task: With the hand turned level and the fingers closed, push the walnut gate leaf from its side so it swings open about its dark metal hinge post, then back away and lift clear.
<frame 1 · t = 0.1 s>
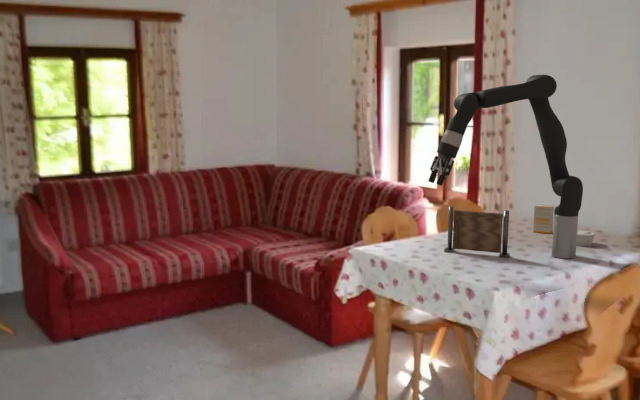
hand: (434, 183, 256), 31 cm above the table, tool tilted 20°, fingers open, 8 cm apart
supplement box: (542, 232, 319), on the table
gate: (477, 231, 274), point 9 cm above the table, hinge at 0.0°
gate frame: (504, 256, 271), on the table
ramekin: (580, 244, 295), on the table
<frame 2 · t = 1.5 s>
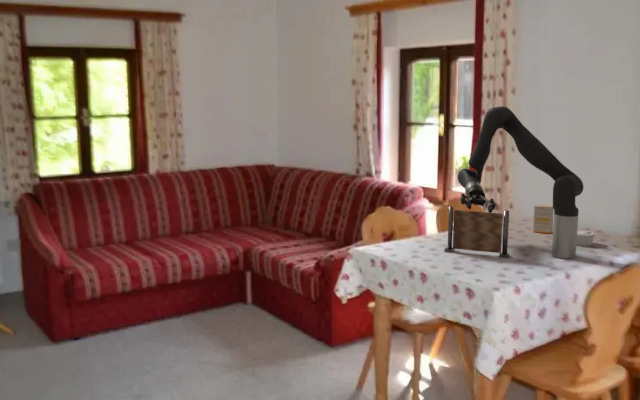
hand: (480, 209, 273), 19 cm above the table, tool tilted 75°, fingers open, 8 cm apart
gate: (477, 231, 274), point 10 cm above the table, hinge at -0.3°
everything else where it was.
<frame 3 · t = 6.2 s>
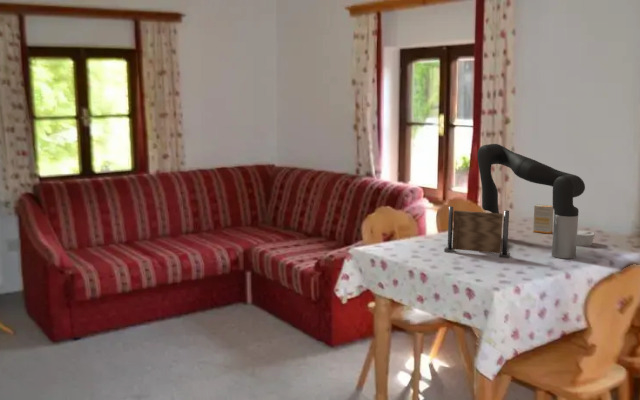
hand: (475, 237, 275), 7 cm above the table, tool horizontal, fingers closed
gate: (477, 231, 273), point 10 cm above the table, hinge at 2.3°, touching gripper
everything else where it was.
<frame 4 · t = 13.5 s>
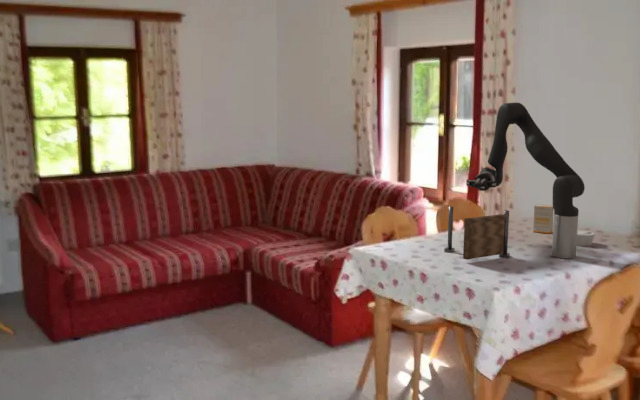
hand: (477, 186, 273), 28 cm above the table, tool horizontal, fingers closed
gate: (484, 236, 264), point 9 cm above the table, hinge at 52.7°
everything else where it was.
at the end: gate at +53° (first picture: +0°); supplement box moved 0.2 cm from its start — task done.
